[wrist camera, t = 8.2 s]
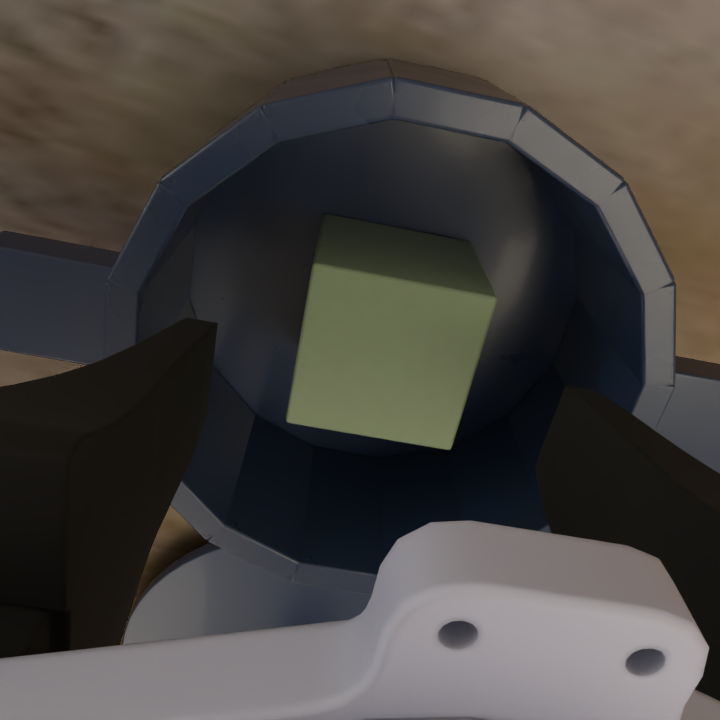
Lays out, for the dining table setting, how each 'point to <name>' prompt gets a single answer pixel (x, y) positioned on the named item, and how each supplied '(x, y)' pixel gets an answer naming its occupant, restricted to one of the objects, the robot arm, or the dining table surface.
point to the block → (389, 333)
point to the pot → (290, 287)
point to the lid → (230, 600)
